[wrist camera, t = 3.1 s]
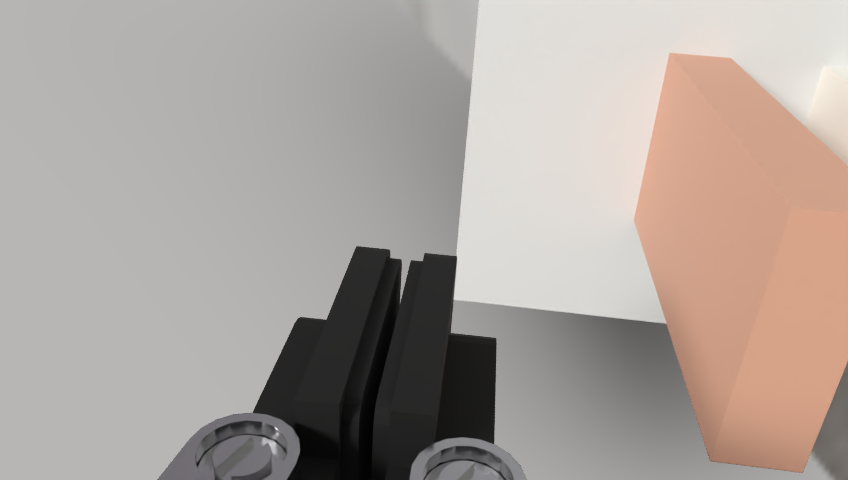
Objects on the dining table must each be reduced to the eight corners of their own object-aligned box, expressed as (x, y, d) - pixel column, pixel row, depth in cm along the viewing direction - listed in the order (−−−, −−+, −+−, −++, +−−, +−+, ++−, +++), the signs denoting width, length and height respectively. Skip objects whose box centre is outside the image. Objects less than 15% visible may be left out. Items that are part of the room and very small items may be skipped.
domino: (730, 57, 19) (905, 219, 11) (688, 225, 22) (802, 473, 13) (669, 52, 20) (791, 207, 11) (633, 219, 22) (710, 461, 13)
